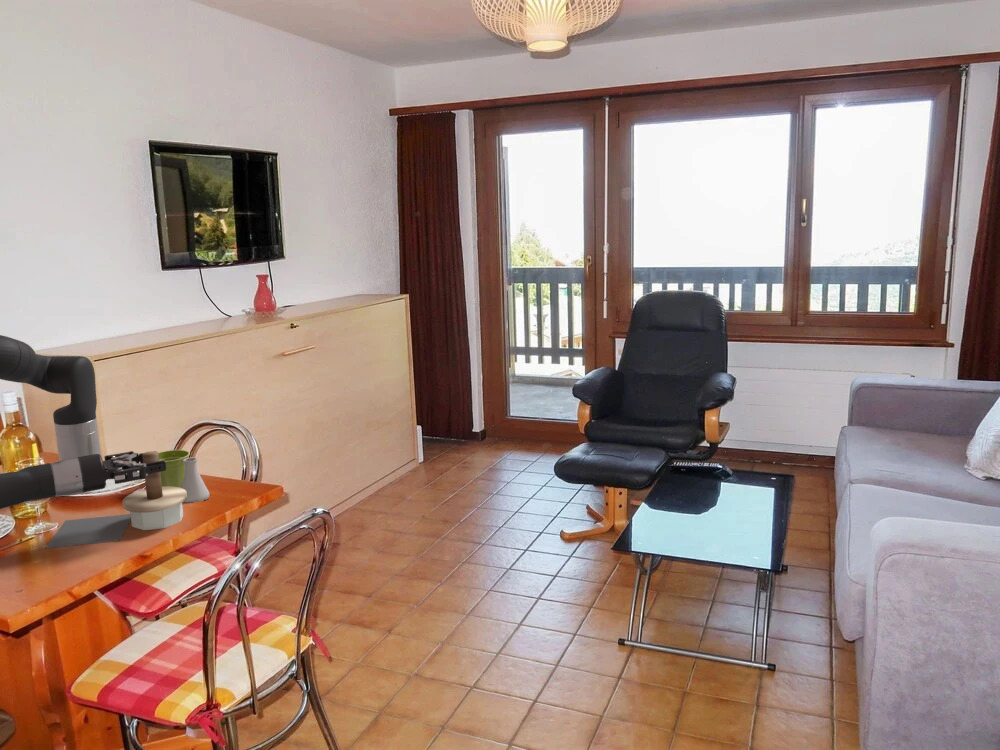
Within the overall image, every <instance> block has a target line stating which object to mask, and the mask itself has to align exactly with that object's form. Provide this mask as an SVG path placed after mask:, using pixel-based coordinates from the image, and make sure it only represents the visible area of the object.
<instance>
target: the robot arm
mask: <svg viewBox="0 0 1000 750" xmlns="http://www.w3.org/2000/svg"><path fill="white" fill-rule="evenodd" d="M0 380H2V381H7V382H14V383H19V384H20V383H23V384H28V385H30V386H33V387H35V388H37V389H40V390H42V391H45V392H47V393H51V394H57V395H58V394H59V395H61V394H62V395H63V394H64V395H67V394H69V395H70V403H68V405H65V406H61V407H59V408H57V409H55V410H54V411H53V414H52V416H53V423H54V430H55V431H54V432H55V437H56V445H57V453H58V460H56V461H54V462H48V463H43V464H42V463H41V464H37V465H31V466H27V467H23V468H21V469H20V470H15V471H9V472H5V473H0V510H2V509H5V508H10V507H12V506H13V507H14V506H17V505H19V504H22V503H27V502H30V501H31V502H32V501H40V500H45V499H50V498H56V497H63V496H64V497H67V496H72V495H77V494H83V493H87V492H88V493H89V492H95V491H99V490H103V489H105V488H106V486H107V482H106V481H107V480H114V484H116V485H119V484H123V483H129V482H135V481H140V480H145V478H146V476H147V475H148V474H150V473H156V472H161V471H165V470H166V463H165V461H163V460H162V461H156V462H151V463H146V464H145V463H143V458H142V454H143V453H144V452H142V453H138V452H135V451H132V450H131V451H126V452H120V453H114V454H109V455H108V454H107V455H104V456H103V457H104V460H103V457H102V453H101V446H100V445H101V444H100V438H99V437H100V435H99V429H98V423H97V422H98V421H97V404H98V403H97V402H98V398H97V389H96V387H97V385H96V373H95V367H94V365H93V362H92V361H91V360H90V359H89V358H88V357H86V356H83V355H52V356H51V355H50V356H49V355H41V354H37V353H36V352H35V350H34V348H33V347H31V345H30V344H28V343H26V342H24V341H21V340H18V339H16V338H13V337H9V336H7V335H0Z"/></svg>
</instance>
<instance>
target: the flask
mask: <svg viewBox="0 0 1000 750" xmlns="http://www.w3.org/2000/svg"><path fill="white" fill-rule="evenodd" d="M197 462H198V457H193V456H192V457H188V458H186V459H184V460H183V463H184V464H185V474H184V479H183V483H182V488H183V489H184V490H186V492H187V499H186V500H185V501H184V502H183V503H196V502H201V501H206V500H208V499H209V497H210V495H211V493H210V492H209V490H208V488H207V486H206V484H205V481H204V480H203V478H202V477H201V475H200V471H199V469H198V465H197V464H198V463H197Z"/></svg>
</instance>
